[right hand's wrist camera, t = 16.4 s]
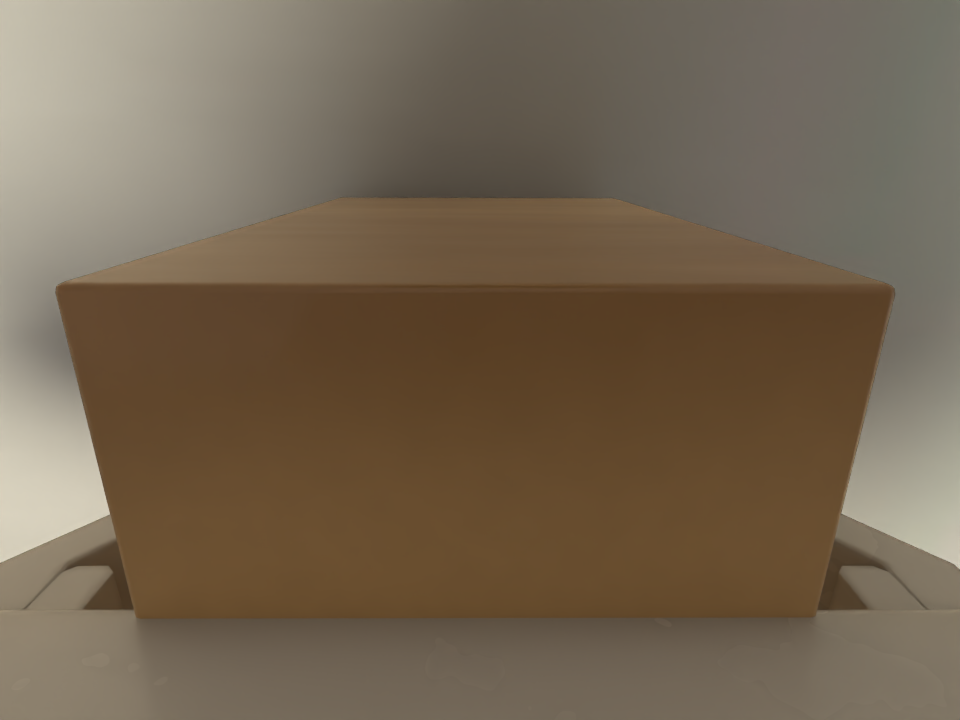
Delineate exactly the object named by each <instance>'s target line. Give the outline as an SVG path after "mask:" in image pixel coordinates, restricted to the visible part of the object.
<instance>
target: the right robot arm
mask: <svg viewBox="0 0 960 720" xmlns="http://www.w3.org/2000/svg"><path fill="white" fill-rule="evenodd" d="M0 720H960V569H959V568H957V567H956V566H955V565H954V564H952V563H950V562H948V561H945V560H943V559H941V558H939V557H936V556H934V555H932V554H930V553H927V552H925V551H923V550H921V549H919V548H916V547H914V546H912V545H910V544H907V543H905V542H903V541H901V540H898V539H896V538H894V537H892V536H890V535H887V534H885V533H883V532H881V531H878V530H876V529H874V528H872V527H869V526H867V525H865V524H863V523H860V522H858V521H856V520H854V519H852V518H849V517H847V516H845V515H843V514H841V515H840V519H839V523H838V527H837V532H836V536H835V540H834V544H833V548H832V552H831V556H830V560H829V564H828V568H827V572H826V576H825V580H824V584H823V588H822V592H821V596H820V600H819V604H818V608H817V612H816V616H814V617H778V618H211V619H140V618H137V617H136V616H135V612H134V608H133V604H132V600H131V596H130V592H129V588H128V584H127V580H126V576H125V572H124V568H123V564H122V560H121V556H120V552H119V548H118V544H117V539H116V535H115V531H114V527H113V523H112V519H111V515H108V516H106V517H103V518H101V519H99V520H96V521H94V522H92V523H90V524H87V525H85V526H83V527H81V528H78V529H76V530H74V531H72V532H69V533H67V534H65V535H63V536H60V537H58V538H56V539H53V540H51V541H49V542H47V543H44V544H42V545H40V546H38V547H35V548H33V549H31V550H29V551H26V552H24V553H22V554H20V555H17V556H15V557H13V558H10V559H8V560H6V561H4V562H1V563H0Z"/></svg>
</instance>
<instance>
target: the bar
mask: <svg viewBox="0 0 960 720" xmlns="http://www.w3.org/2000/svg"><path fill="white" fill-rule="evenodd" d="M56 297H57V301H58V305H59V309H60V313H61V317H62V321H63V325H64V329H65V333H66V337H67V341H68V345H69V349H70V353H71V357H72V361H73V366H74V370H75V374H76V378H77V382H78V386H79V390H80V394H81V398H82V402H83V406H84V410H85V414H86V418H87V422H88V426H89V430H90V434H91V438H92V442H93V446H94V450H95V455H96V459H97V463H98V467H99V471H100V475H101V479H102V483H103V487H104V491H105V495H106V499H107V503H108V507H109V511H110V515H111V519H112V523H113V527H114V531H115V535H116V539H117V544H118V548H119V552H120V556H121V560H122V564H123V568H124V572H125V576H126V580H127V584H128V588H129V592H130V596H131V600H132V604H133V608H134V612H135V616H136V617H137V618H140V619H211V618H778V617H814V616H816V612H817V608H818V604H819V600H820V596H821V592H822V588H823V584H824V580H825V576H826V572H827V568H828V564H829V560H830V556H831V552H832V548H833V544H834V540H835V536H836V532H837V527H838V523H839V519H840V515H841V511H842V507H843V503H844V499H845V495H846V491H847V487H848V483H849V479H850V475H851V471H852V467H853V463H854V459H855V455H856V451H857V447H858V443H859V439H860V434H861V430H862V426H863V422H864V418H865V414H866V410H867V406H868V402H869V398H870V394H871V390H872V386H873V382H874V378H875V374H876V370H877V366H878V362H879V358H880V354H881V350H882V345H883V341H884V337H885V333H886V329H887V325H888V321H889V317H890V313H891V309H892V305H893V301H894V297H895V289H894V287H893V286H891V285H889V284H887V283H884V282H880V281H877V280H874V279H871V278H868V277H864V276H861V275H858V274H855V273H852V272H848V271H845V270H842V269H839V268H836V267H832V266H829V265H826V264H823V263H820V262H816V261H813V260H810V259H807V258H804V257H800V256H797V255H794V254H791V253H788V252H784V251H781V250H778V249H775V248H772V247H768V246H765V245H762V244H759V243H756V242H752V241H749V240H746V239H743V238H740V237H736V236H733V235H730V234H727V233H724V232H720V231H717V230H714V229H711V228H708V227H704V226H701V225H698V224H695V223H692V222H688V221H685V220H682V219H679V218H676V217H672V216H669V215H666V214H663V213H660V212H656V211H653V210H650V209H647V208H644V207H640V206H637V205H634V204H631V203H628V202H624V201H621V200H618V199H615V198H338V199H335V200H331V201H328V202H325V203H321V204H318V205H315V206H312V207H308V208H305V209H302V210H298V211H295V212H292V213H289V214H285V215H282V216H279V217H275V218H272V219H269V220H266V221H262V222H259V223H256V224H252V225H249V226H246V227H243V228H239V229H236V230H233V231H230V232H226V233H223V234H220V235H216V236H213V237H210V238H207V239H203V240H200V241H197V242H193V243H190V244H187V245H184V246H180V247H177V248H174V249H170V250H167V251H164V252H161V253H157V254H154V255H151V256H147V257H144V258H141V259H138V260H134V261H131V262H128V263H124V264H121V265H118V266H115V267H111V268H108V269H105V270H101V271H98V272H95V273H92V274H88V275H85V276H82V277H78V278H75V279H72V280H69V281H65V282H63V283H61V284H58V286H57V287H56Z"/></svg>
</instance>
